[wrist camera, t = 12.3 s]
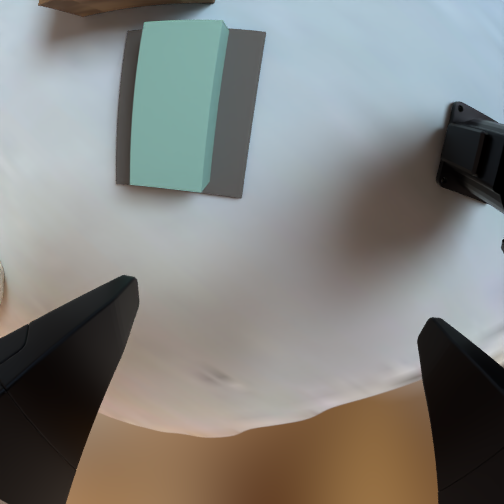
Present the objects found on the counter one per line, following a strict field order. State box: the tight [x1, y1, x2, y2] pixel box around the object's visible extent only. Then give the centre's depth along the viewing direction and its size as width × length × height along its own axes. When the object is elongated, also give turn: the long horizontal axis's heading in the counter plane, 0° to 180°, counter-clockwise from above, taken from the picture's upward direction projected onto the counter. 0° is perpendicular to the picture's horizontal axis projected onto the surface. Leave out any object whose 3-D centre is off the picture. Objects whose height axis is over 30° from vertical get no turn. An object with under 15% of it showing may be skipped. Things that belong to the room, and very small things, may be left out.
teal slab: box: [130, 20, 229, 193], centre depth 15 cm, size 4×10×2 cm, turn 172°
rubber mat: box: [116, 29, 266, 198], centre depth 17 cm, size 9×11×1 cm
